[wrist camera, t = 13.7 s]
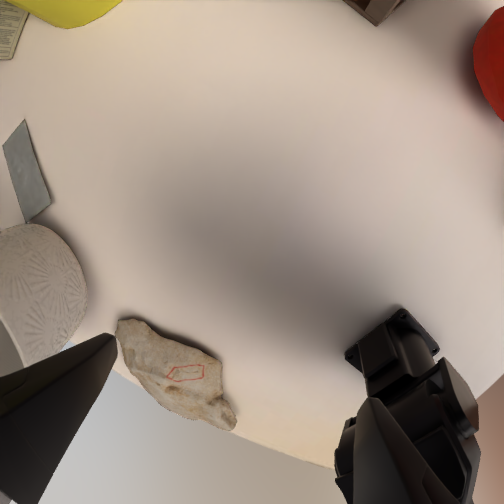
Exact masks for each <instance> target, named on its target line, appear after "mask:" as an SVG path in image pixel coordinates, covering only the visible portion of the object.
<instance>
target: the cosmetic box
mask: <svg viewBox="0 0 504 504" xmlns="http://www.w3.org/2000/svg"><path fill="white" fill-rule="evenodd" d="M28 13H29V12H27V11H25V10H23V9H21V8H19V7H17V6H15V5H13V4H11V3H9V2H7V1H5V0H0V59H12V56H13V53H14V50H15V47H16V44H17V41H18V38H19V36H20V33H21V30H22V28H23V25H24V23H25V20H26V17H27V15H28Z"/></svg>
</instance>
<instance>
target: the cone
mask: <svg viewBox="0 0 504 504" xmlns="http://www.w3.org/2000/svg"><path fill="white" fill-rule="evenodd" d="M5 1H7V2H9V3H11V4H13V5H15V6H17V7H19V8H21V9H23V10H25V11H27V12H29V13H31V14H33V15H35V16H37V17H38V18H40V19H42V20H44V21H46V22H48V23H50V24H51V25H53V26H55V27H60V28H65V29H70V28H74V27H79V26H84V25H86V24H88V23H90V22H91V21H93V20H95V19H97V18H99V17H101V16H103V15H104V14H105V13H107V12H108V11H109V10H111V9H112V8H113V7H114V6H116V5H117V4H118V3H120V2H121V1H122V0H5Z"/></svg>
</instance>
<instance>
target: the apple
mask: <svg viewBox="0 0 504 504" xmlns="http://www.w3.org/2000/svg"><path fill="white" fill-rule="evenodd" d="M473 59H474V72H475V74H476V77H477V79H478V81H479V84H480V86H481V89H482V92H483V94H484V96H485V98H486V99H487V100H488V102H489V103H490V105H491V106H492V108H493V109H494V111H495V112H496V114H497V115H498V116H499V117H500V118H501V119H502V120H503V122H504V6H503V7H501V8H499V9H497V10H495V11H494V12H493V14H492V15H491V16H490V18H489V19H488V20H487V22H486V23H485V24H484V25H483V27H482V28H481V29H480V31H479V33H478V35H477V38H476V41H475V43H474V46H473Z"/></svg>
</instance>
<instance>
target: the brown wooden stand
mask: <svg viewBox="0 0 504 504" xmlns="http://www.w3.org/2000/svg"><path fill="white" fill-rule="evenodd" d="M343 1H344V2H346V3H347V4H348V5H350V6H351V7H352V8H354V9H355V10H356V11H358V12H359V13H360V14H361V15H363V16H364V17H365V18H366V19H368V20H369V21H370V22H371V23H372V24H374V25H375V26H376V27H377V26H378V25H379V24H380V23H381V22H382V21H384V20H385V19H386V18H387V17H388V16H389V15H390V14H391V13H392V12H394V11H395V10H396V9H397V8H398V7H399V6H400V5H401V4H403V3H404V2H405V1H406V0H343Z"/></svg>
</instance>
